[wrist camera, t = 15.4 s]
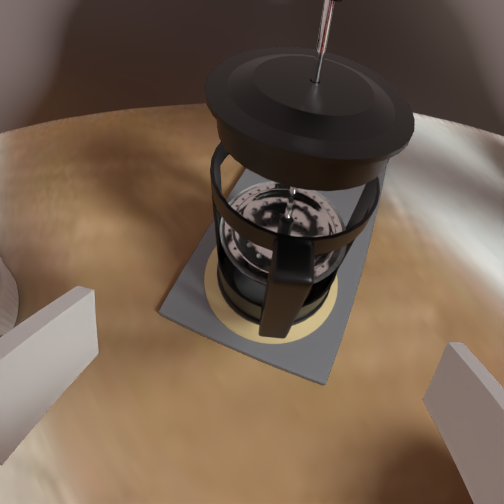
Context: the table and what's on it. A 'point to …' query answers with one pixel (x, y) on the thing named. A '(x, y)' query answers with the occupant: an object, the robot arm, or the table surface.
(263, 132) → the french press
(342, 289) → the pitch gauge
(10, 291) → the ramekin
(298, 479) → the table surface
